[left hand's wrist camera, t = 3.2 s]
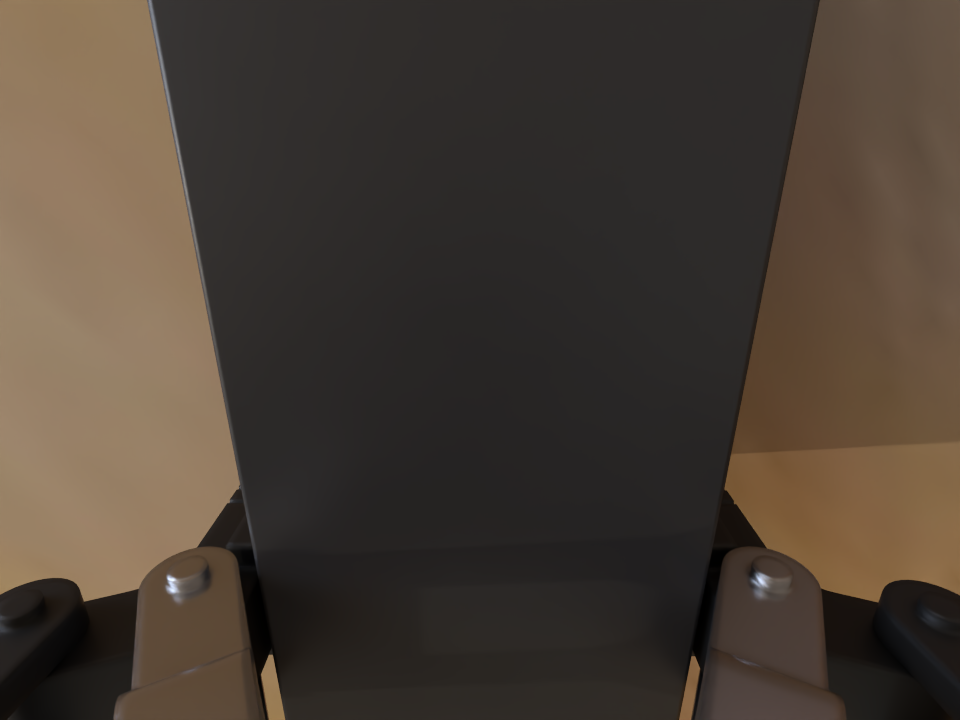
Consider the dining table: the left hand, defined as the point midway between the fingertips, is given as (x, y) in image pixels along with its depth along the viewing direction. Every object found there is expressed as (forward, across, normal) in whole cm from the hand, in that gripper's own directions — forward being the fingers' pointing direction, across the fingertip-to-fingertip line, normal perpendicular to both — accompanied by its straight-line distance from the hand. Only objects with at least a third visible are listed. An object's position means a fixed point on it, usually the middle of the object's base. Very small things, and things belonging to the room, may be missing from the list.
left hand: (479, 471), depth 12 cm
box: (+6, 0, -7) cm, 9 cm away
